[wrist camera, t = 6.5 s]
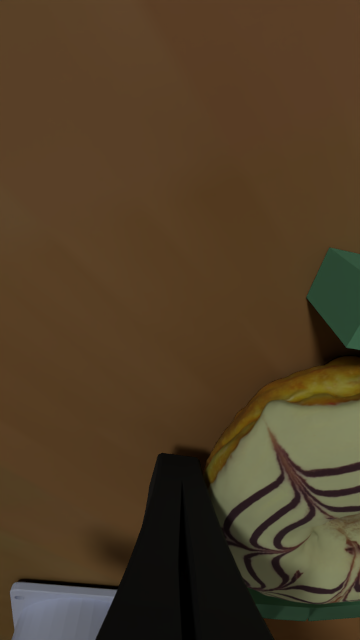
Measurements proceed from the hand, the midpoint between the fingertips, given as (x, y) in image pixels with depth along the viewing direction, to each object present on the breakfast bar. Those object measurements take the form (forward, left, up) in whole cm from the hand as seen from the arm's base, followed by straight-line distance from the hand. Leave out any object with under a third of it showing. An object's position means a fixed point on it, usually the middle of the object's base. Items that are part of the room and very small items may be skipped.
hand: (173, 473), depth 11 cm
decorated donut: (0, -6, -2) cm, 6 cm away
